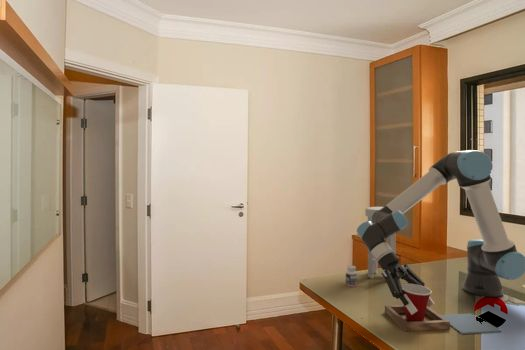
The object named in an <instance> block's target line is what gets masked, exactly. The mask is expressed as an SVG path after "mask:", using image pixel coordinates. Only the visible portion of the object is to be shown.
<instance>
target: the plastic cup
mask: <svg viewBox="0 0 525 350" xmlns="http://www.w3.org/2000/svg"><path fill="white" fill-rule="evenodd" d="M401 286H402V290H403V293H404V294H406V295H407V296H408V298H409V299H410V300H411V302H412V303H413V305H414V306H415V307H416V309H417V310H418V311H417V312H415V313H414V314H412V315H411V313H410V312H409V310H408V309H407V308H406V306H405V305H404V304H403V305H404V309H405V313H404V314H405V318H406V321H407V322H416V321H425V315H426V314H425V313H426V308H427V303H428V299H429V297H430V298H431V294H432V293H433V291H432V290H431V289H430V288H429V287H427V286H421V285H417V284H409V283H408V282H407V283H401ZM404 294H403V295H404Z"/></svg>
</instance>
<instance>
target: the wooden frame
mask: <svg viewBox="0 0 525 350" xmlns="http://www.w3.org/2000/svg"><path fill="white" fill-rule="evenodd" d="M384 313H385V314H386V315H387V316H389V318H391V319H392V320H393V321H394V323H396V325H398V326H399V327H400V328H401V329H403V330H404V332H418V331H420V332H421V331H422V332H423V331H434V330H435V331H437V330H440V331H441V330H451V326H450V321H448V320H447V319H445V318H444V317H443V316H441V315H442V314H440V313H438V312H437V311H436V310H434V309H432V308H431V306H430V307H428V306H427V308H426V313H425V315H426V316H428V317H429V318H430V319H432V320H424V321H416V322H410V321H408V320H407V319H405V318H403V317H402V316H401V315H400V314H405V309H404V304H394V305H384Z"/></svg>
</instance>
